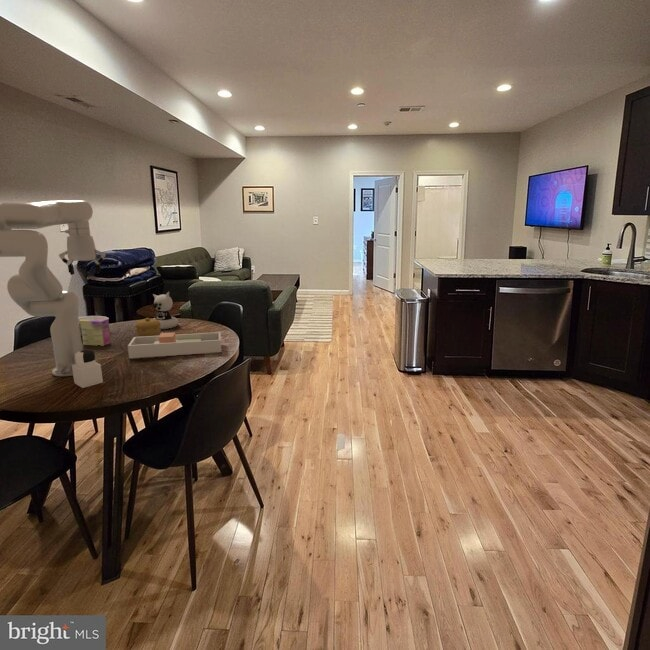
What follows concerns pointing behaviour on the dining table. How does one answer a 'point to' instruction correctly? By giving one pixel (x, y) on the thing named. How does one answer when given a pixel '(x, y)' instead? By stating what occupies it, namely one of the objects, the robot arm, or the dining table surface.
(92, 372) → the medicine bottle
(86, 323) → the box
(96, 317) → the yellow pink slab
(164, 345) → the channel
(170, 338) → the block
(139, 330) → the pot
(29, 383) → the dining table surface
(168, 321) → the decorative figurine
